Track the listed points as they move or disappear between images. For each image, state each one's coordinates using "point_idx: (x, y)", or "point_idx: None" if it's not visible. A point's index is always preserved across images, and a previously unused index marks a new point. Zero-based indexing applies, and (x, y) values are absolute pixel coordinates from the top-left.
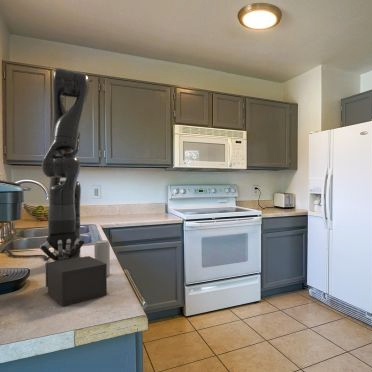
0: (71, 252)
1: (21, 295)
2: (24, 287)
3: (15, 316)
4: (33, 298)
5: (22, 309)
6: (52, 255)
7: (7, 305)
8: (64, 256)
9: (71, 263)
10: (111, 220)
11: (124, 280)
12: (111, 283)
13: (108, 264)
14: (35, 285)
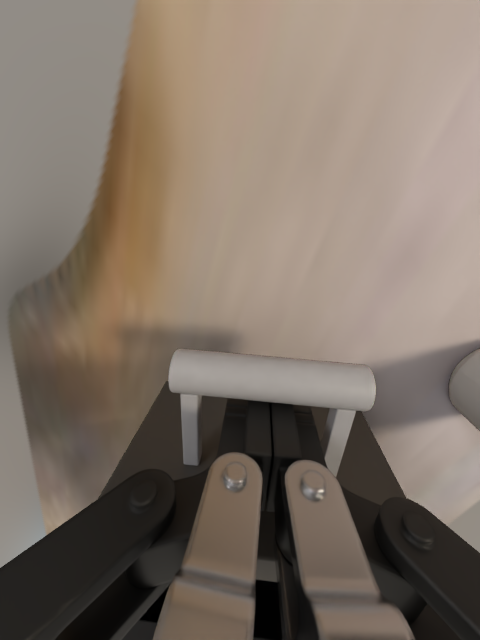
0: (440, 586)
1: (74, 369)
2: (85, 243)
3: (65, 518)
4: (114, 435)
5: (80, 493)
6: (110, 618)
7: (35, 435)
8: (278, 571)
9: None
10: None
11: (470, 504)
12: (406, 496)
13: None
14: (141, 253)
